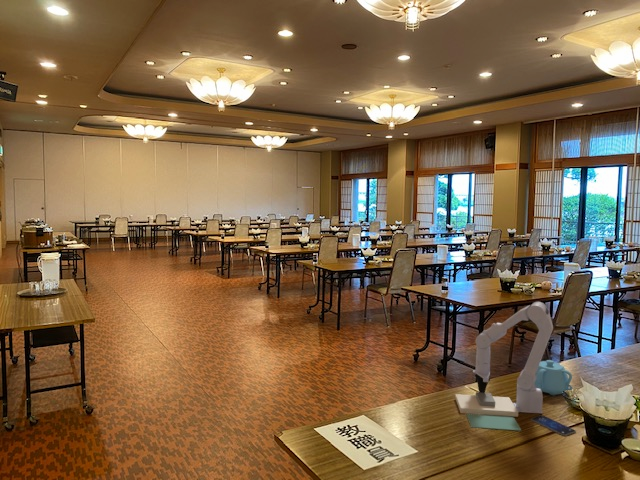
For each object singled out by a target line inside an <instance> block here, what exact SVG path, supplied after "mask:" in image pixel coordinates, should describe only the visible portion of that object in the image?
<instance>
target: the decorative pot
mask: <svg viewBox="0 0 640 480" xmlns="http://www.w3.org/2000/svg"><path fill="white" fill-rule="evenodd" d="M536 375H537V379H536V381H535V383H534V384H535V386H536V388H540V389H541V391H542V393H546V394H549V395H551V396H556V395H561V394H563V393H562V392H563V391H565V392H566V391H568V390H571V391H573V386H572V385H571V384H570V383H571V382H572V379H573V375H572V373H571V372H570V371H569V370H567V369H566V368H565V367H564V366H563V365H562V364H560V363H558V362H555V361H554V360H551V359H547V360H541V361H540V364H539V366H538V369H537V372H536ZM568 392H569V391H568Z"/></svg>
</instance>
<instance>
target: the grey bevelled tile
mask: <svg viewBox="0 0 640 480" xmlns="http://www.w3.org/2000/svg"><path fill="white" fill-rule="evenodd" d="M475 395H476V399H477V401H478V403H479V405H480V406H491V407H495V400H494V398H493V397H492V396H493V395H492V393H491V392H485V393H482V392H479V391H476V392H475Z"/></svg>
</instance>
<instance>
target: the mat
mask: <svg viewBox="0 0 640 480" xmlns="http://www.w3.org/2000/svg"><path fill="white" fill-rule="evenodd" d="M465 415H466V418H467V420H468V423H469V426H470V428H474V429H476V428H477V429H485V430H486V429H487V430H488V429H489V430H502V431H503V430H504V431H515V432H516V431H517V432H521V431H522V429H521V427H520V425H519V423H518V422H517V420H516V418H515V417H513V416H498V415H483V414H468V413H465Z"/></svg>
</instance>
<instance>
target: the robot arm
mask: <svg viewBox="0 0 640 480" xmlns="http://www.w3.org/2000/svg"><path fill="white" fill-rule="evenodd" d="M529 320H530V321H532V322H533V323H534V324H535V325H536V328H537V329H538V332H537V334H536V337H535V340H534V343H533V345H532V347H531V351H530V353H529V355H528V357H527V361H526V362H525V366H524V368H523V369H521V371H520V374H519V375H518V376H517V379H516V399H515V401H516V402H512V403H513V404H514V406H515V407H516V409H517V411H518V413H527V414H528V413H529V414H542V415H543V401H544V400H543V399H544V397H543V395H544V394H543V392H542V391H541V389H540V388H536V386H535V384H534V383H535V381H536V379H537V375H536V372H537V369H538V366H539V364H540V362H541V361H542V358H543V355H544V354H545V351H546V348H547V346H548V344H549V341H550V337H551V335H552V334H553V330H554V325H553V321H552V317H551V314H550V309H549V308H548V307H547V306H546V304H545V303H544V302H541V301H534V302H532V304H529V305H527V306H524V307H523V308H521V309H519V310H518V311H516V312H515V313H514V314H513V315H511V316H510V317H509V318H507V319H506V320H504V321H503V322H496V323H495V322H493V323H492V324H491V326H490V327H488V328H487V329H484V330H483V331H482V332H480V333H479V334H478V336H476V338H475V345H476V352H475V353H476V355H475V369H473V370H472V373H473V374H474V376H475V379H476V382H477V389H478V392H482V393H486V390H487V385H488V384H489V383H490V381H491V377H490V375H491V354H492V352H491V345H492V344H493V343H496V342H497V341H499V340H500V339H501V338H503V337H504V336H506V335H507V330H509V329H510V328H512V327H513V326H515V325H517V324H518V323H520V322H521V321H526V322H528V321H529Z"/></svg>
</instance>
